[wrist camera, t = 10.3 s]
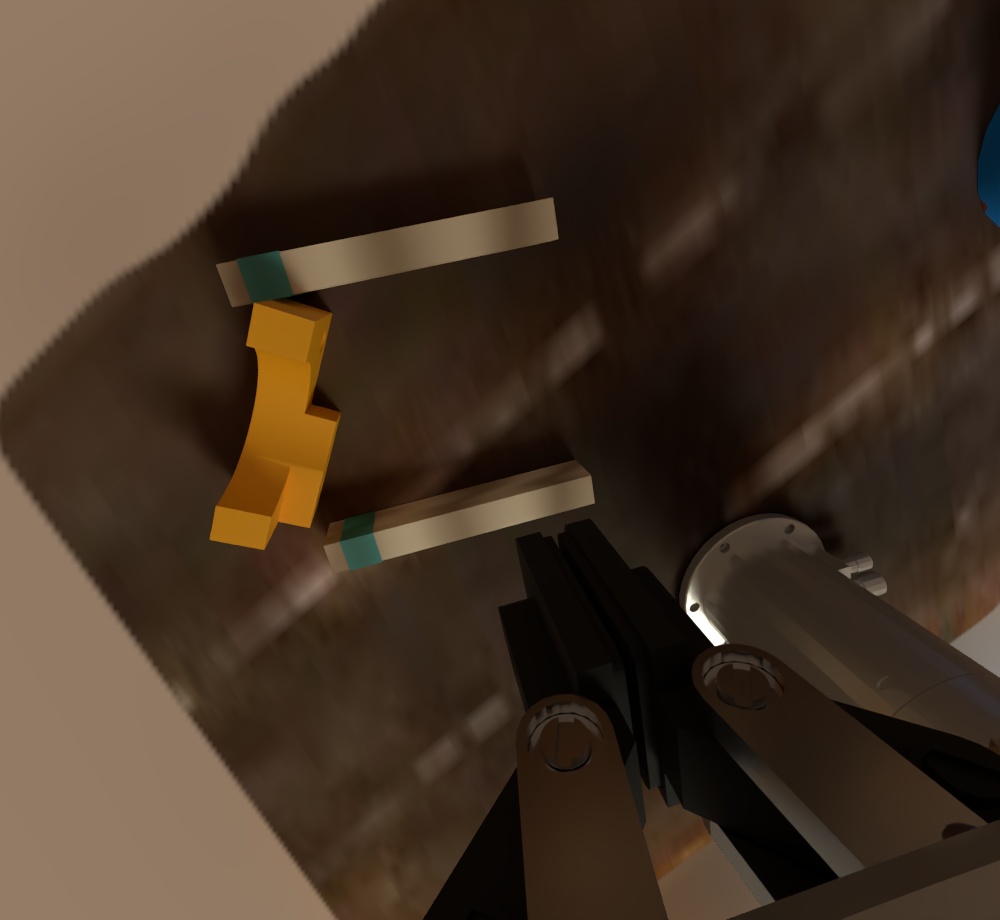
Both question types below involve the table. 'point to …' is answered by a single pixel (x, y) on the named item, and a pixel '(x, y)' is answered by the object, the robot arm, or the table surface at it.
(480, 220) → the channel
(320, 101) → the table surface
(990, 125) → the thermos
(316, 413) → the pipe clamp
